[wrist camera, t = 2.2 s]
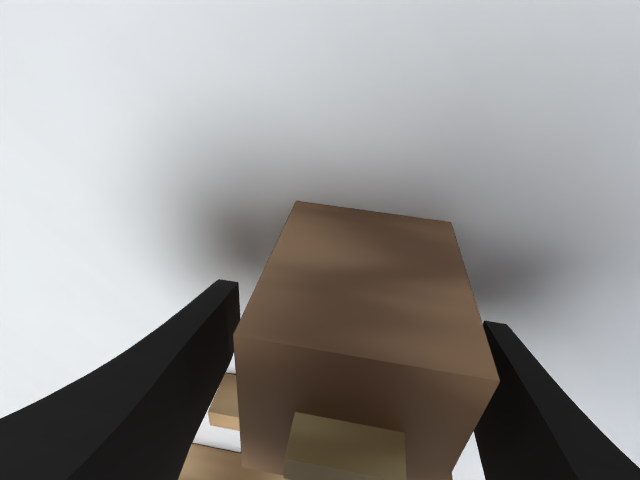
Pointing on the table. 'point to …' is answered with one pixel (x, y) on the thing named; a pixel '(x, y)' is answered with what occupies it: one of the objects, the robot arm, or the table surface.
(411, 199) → the table surface
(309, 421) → the cabinet
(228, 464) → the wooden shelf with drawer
